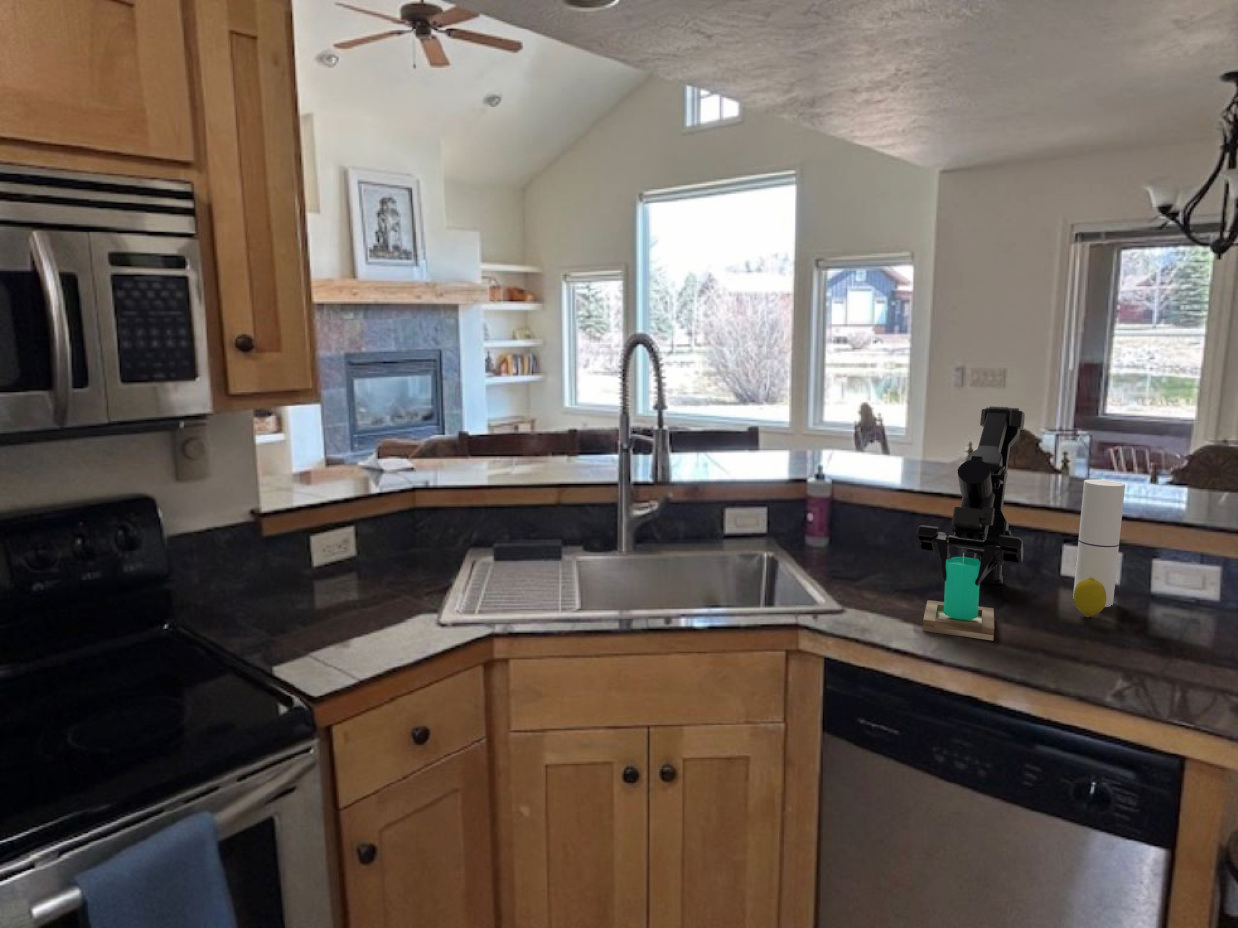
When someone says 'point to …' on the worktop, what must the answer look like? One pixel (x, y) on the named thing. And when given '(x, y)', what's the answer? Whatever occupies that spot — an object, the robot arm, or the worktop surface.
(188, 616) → the worktop surface
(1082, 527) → the cylindrical container
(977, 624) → the candle stand
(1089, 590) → the lemon
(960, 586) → the candle
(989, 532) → the robot arm
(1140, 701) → the worktop surface
